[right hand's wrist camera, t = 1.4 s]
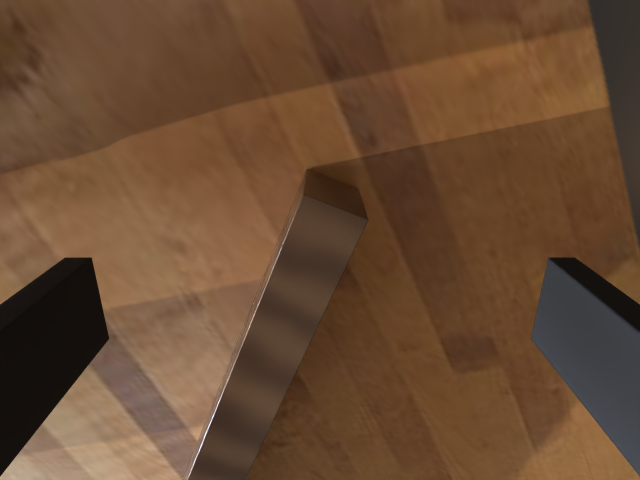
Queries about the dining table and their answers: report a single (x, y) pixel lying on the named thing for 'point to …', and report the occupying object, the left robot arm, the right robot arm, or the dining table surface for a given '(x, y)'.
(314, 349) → the dining table surface
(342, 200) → the beam
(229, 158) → the dining table surface
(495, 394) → the dining table surface
